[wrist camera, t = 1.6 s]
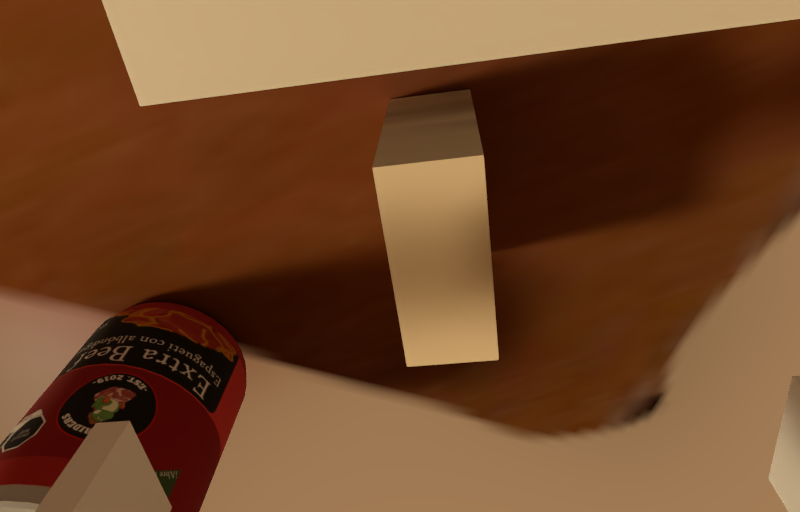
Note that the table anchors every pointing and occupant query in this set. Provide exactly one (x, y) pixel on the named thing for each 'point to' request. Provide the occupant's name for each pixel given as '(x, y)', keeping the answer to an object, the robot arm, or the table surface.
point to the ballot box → (380, 36)
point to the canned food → (135, 404)
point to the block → (437, 228)
